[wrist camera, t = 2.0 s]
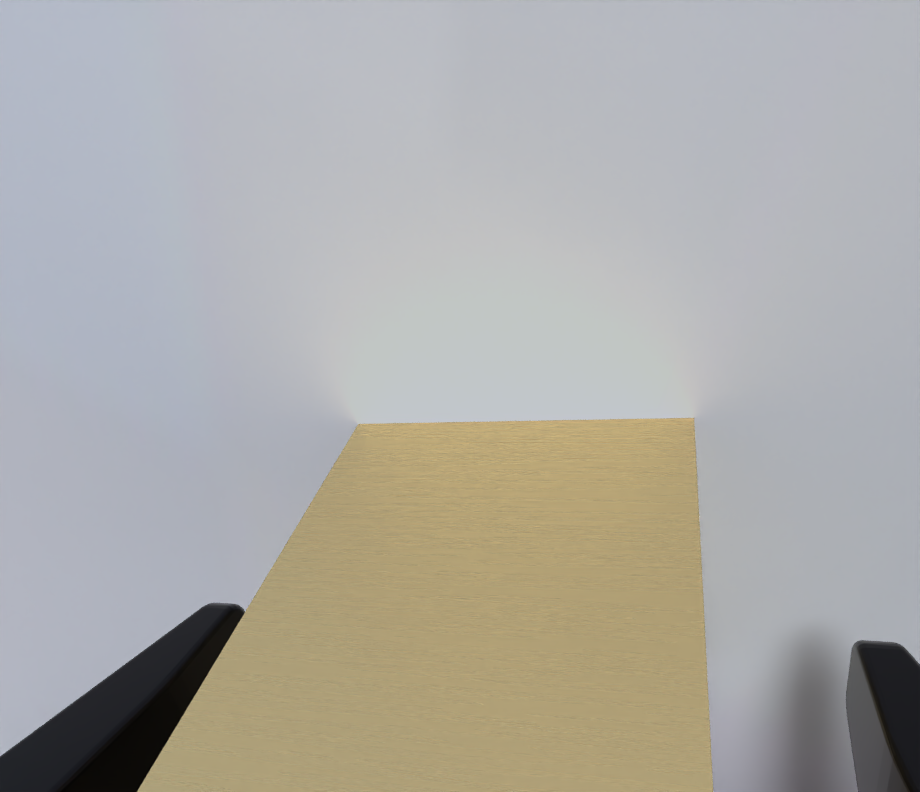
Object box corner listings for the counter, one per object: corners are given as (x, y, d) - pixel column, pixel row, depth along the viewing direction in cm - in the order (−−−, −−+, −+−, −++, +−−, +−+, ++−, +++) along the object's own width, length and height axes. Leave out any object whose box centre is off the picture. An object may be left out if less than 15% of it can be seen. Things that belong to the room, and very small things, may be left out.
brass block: (693, 416, 8) (736, 1205, 3) (698, 662, 10) (728, 1383, 5) (359, 424, 9) (4, 1013, 4) (421, 642, 11) (228, 1222, 6)
